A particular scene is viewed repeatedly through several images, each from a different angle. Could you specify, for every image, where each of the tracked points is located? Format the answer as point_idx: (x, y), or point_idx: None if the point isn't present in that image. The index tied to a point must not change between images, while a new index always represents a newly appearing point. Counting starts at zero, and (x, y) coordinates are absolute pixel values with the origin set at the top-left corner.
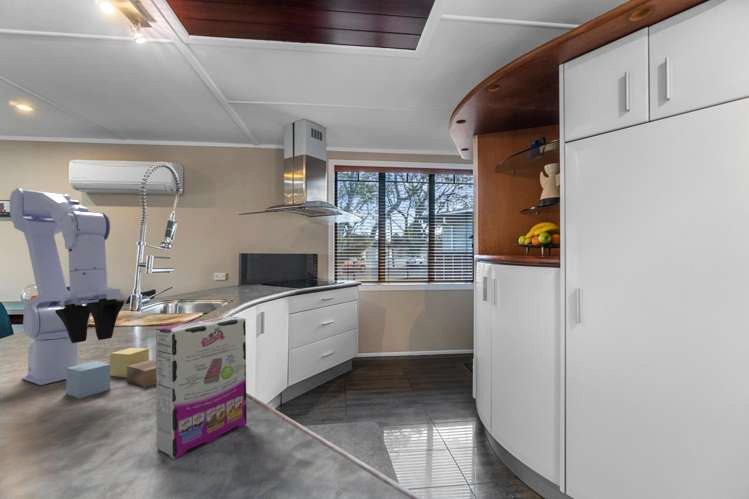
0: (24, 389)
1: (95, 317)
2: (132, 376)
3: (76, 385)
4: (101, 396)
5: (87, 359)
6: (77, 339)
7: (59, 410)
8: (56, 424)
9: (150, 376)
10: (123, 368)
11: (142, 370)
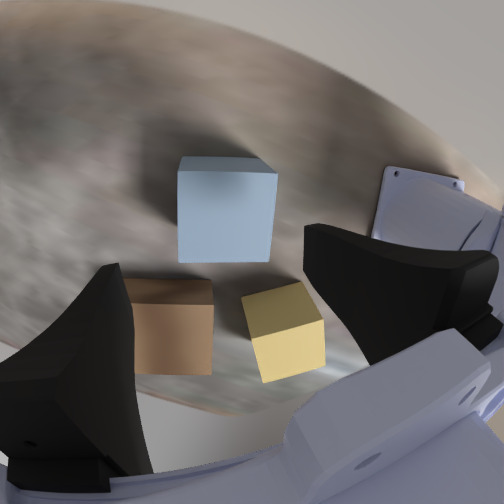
0: (395, 138)
1: (64, 327)
2: (181, 289)
3: (199, 161)
4: (142, 192)
5: None
6: (310, 246)
7: (134, 95)
8: (53, 68)
9: None
10: (264, 305)
11: None
